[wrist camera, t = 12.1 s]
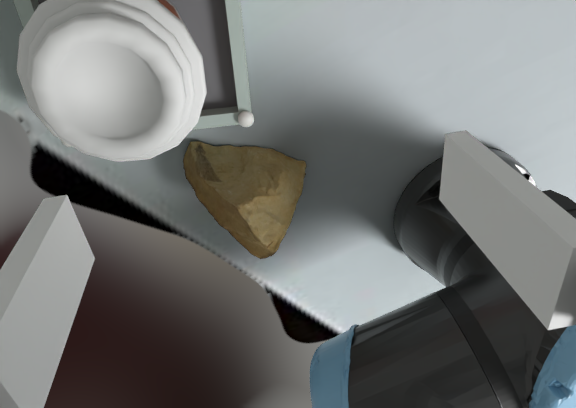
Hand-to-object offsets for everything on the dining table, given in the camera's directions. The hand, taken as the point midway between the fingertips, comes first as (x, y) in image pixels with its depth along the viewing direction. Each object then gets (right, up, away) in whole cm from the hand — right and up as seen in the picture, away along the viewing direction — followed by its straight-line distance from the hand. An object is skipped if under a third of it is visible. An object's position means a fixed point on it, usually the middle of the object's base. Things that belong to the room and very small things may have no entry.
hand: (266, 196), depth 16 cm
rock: (-4, +4, +27) cm, 27 cm away
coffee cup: (-10, +12, +16) cm, 22 cm away
